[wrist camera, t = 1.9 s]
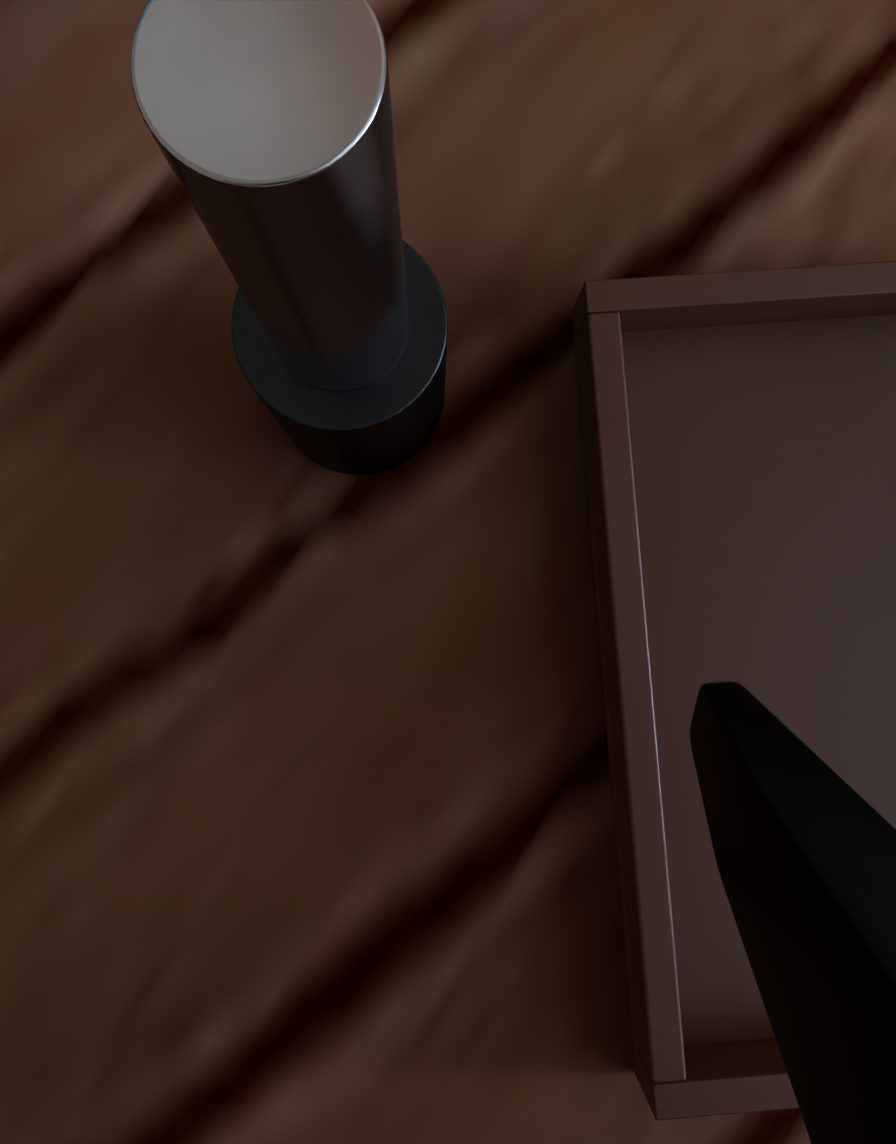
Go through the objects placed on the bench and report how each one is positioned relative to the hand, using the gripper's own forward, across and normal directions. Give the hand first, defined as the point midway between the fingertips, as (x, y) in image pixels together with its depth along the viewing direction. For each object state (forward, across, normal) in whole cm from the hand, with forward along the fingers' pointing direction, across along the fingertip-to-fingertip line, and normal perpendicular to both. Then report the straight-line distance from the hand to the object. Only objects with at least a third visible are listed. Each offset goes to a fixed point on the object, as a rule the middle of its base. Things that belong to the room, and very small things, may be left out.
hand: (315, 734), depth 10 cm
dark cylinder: (+14, 0, +3) cm, 14 cm away
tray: (+8, -12, +9) cm, 17 cm away
